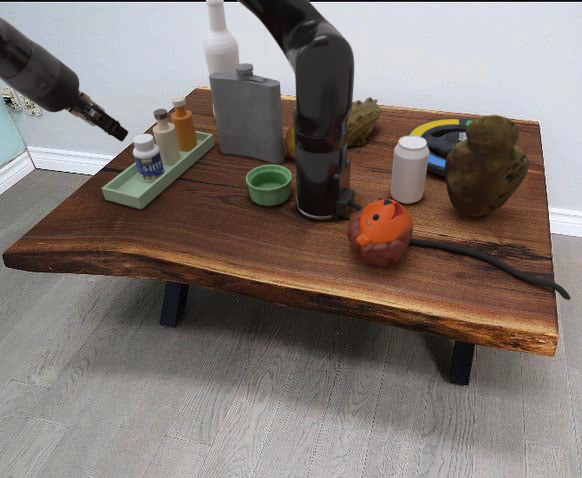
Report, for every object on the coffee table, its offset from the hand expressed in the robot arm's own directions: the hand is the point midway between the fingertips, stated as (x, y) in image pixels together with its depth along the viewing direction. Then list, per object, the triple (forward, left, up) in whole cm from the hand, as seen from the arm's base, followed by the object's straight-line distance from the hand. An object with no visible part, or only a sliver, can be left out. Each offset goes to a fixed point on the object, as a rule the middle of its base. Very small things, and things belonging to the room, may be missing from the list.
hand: (109, 126), depth 90 cm
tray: (+2, -12, -17) cm, 21 cm away
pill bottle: (+2, -9, -16) cm, 18 cm away
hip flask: (-13, -25, -17) cm, 33 cm away
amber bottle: (+2, -22, -16) cm, 27 cm away
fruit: (-25, -28, -17) cm, 42 cm away
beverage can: (-49, -21, -17) cm, 57 cm away
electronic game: (-55, -40, -17) cm, 71 cm away
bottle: (+1, -39, -17) cm, 43 cm away
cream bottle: (+2, -15, -16) cm, 22 cm away
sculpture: (-62, -20, -17) cm, 68 cm away
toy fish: (-49, -3, -17) cm, 52 cm away
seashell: (-31, -41, -17) cm, 55 cm away
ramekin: (-24, -12, -17) cm, 32 cm away
